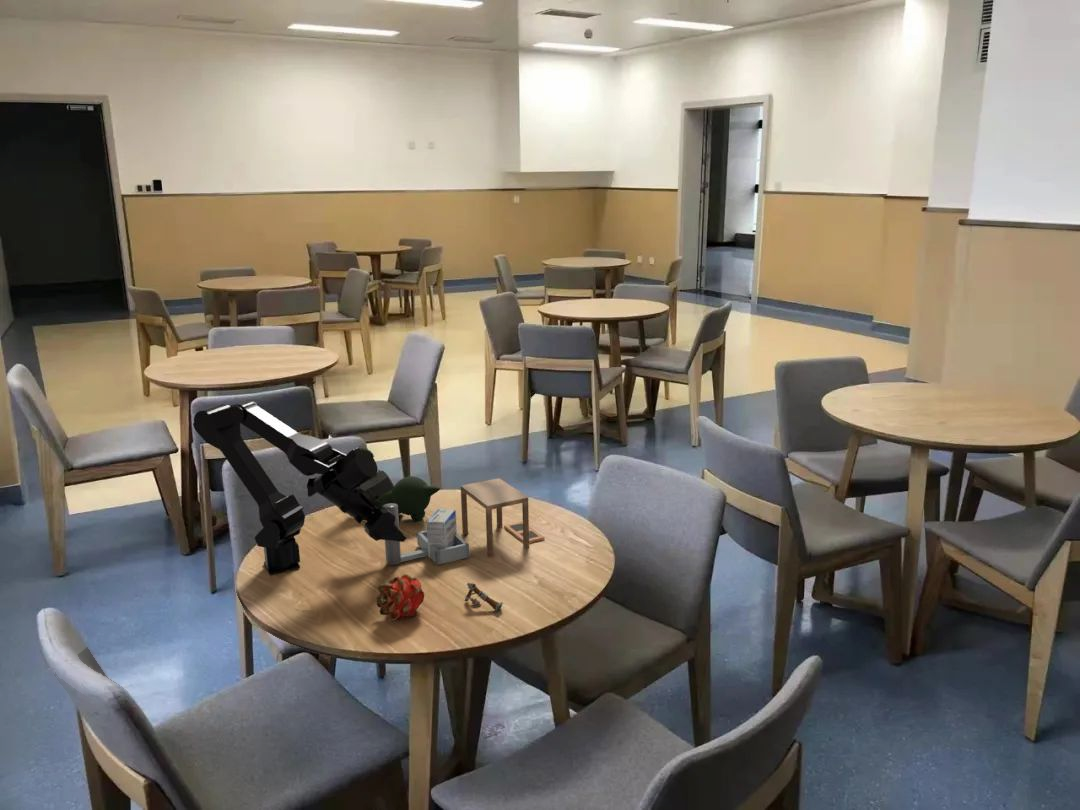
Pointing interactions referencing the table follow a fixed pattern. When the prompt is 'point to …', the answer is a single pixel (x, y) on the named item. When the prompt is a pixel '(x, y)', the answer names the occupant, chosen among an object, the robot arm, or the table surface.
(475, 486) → the miniature wooden table
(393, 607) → the dragon fruit
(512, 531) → the pit plate
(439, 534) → the medicine box
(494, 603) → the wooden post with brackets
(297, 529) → the robot arm
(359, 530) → the table surface
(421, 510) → the toy figurine
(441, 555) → the grey post with tray
